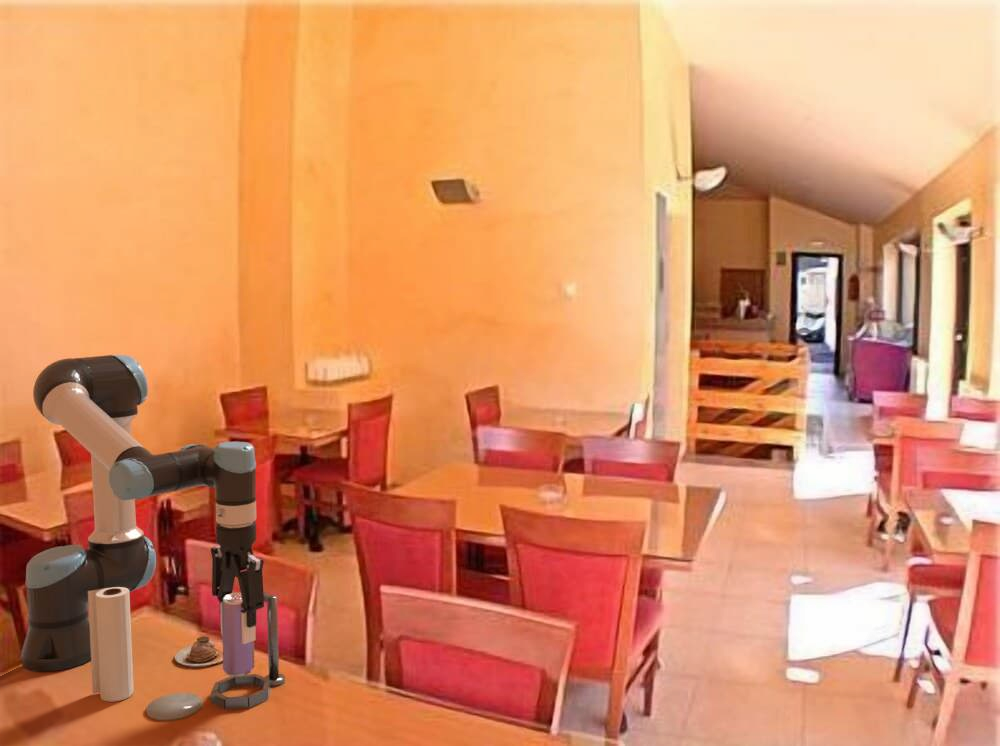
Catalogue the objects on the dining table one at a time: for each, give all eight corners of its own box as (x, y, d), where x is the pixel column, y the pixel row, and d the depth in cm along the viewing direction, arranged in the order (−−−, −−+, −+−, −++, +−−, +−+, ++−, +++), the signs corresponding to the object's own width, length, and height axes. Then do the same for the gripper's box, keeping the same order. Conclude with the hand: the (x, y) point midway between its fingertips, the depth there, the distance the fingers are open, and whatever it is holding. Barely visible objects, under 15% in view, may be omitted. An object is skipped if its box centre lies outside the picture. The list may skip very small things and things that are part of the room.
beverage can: (245, 678, 177) (244, 604, 175) (217, 675, 178) (215, 601, 176) (259, 665, 182) (258, 593, 180) (232, 662, 184) (230, 590, 182)
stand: (201, 698, 179) (198, 609, 177) (266, 671, 192) (263, 588, 190) (235, 714, 173) (232, 623, 171) (299, 685, 185) (297, 599, 183)
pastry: (163, 661, 197) (162, 641, 197) (209, 643, 207) (208, 623, 206) (198, 675, 190) (197, 654, 190) (244, 655, 200) (243, 635, 200)
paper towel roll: (139, 695, 180) (134, 590, 178) (108, 705, 176) (103, 598, 174) (122, 684, 185) (118, 582, 183) (92, 694, 181) (87, 589, 179)
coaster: (135, 710, 174) (135, 706, 174) (182, 691, 182) (182, 688, 182) (165, 726, 168) (165, 722, 168) (212, 705, 176) (212, 702, 176)
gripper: (190, 517, 179) (193, 630, 182) (250, 536, 168) (252, 656, 170) (223, 509, 185) (225, 619, 188) (283, 527, 174) (284, 643, 176)
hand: (238, 636), depth 179 cm, fingers closed on beverage can, 6 cm apart
